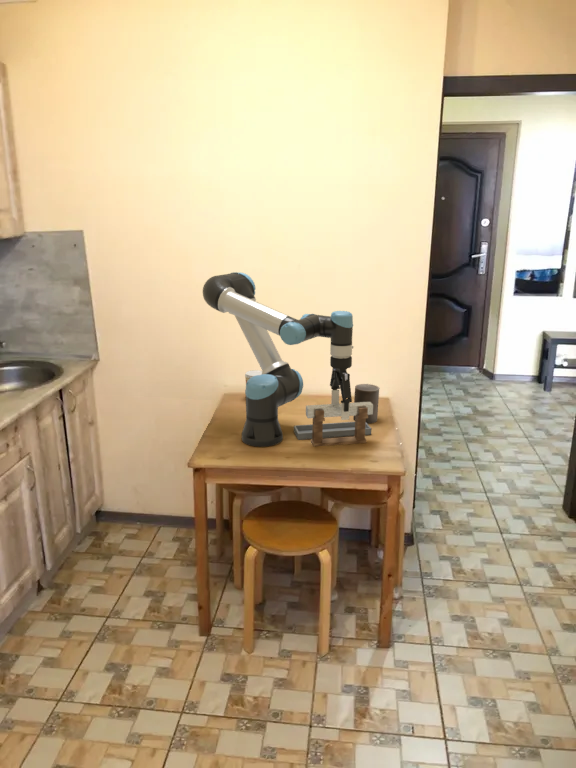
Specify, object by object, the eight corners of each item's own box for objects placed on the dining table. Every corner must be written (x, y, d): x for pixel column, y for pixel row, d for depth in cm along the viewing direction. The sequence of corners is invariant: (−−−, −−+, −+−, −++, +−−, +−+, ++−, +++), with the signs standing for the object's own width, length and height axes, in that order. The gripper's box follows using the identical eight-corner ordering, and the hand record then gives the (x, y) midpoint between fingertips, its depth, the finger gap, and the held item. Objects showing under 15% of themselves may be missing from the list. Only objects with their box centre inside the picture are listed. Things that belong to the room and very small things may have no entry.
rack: (313, 447, 220) (314, 411, 215) (309, 440, 226) (310, 405, 222) (367, 443, 223) (369, 408, 219) (362, 437, 229) (363, 402, 225)
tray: (298, 439, 227) (298, 433, 226) (293, 431, 234) (293, 425, 233) (371, 434, 232) (371, 428, 231) (364, 426, 239) (364, 420, 238)
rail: (307, 418, 217) (308, 408, 216) (305, 414, 221) (305, 405, 220) (372, 414, 222) (373, 404, 221) (369, 411, 225) (370, 401, 224)
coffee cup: (244, 396, 275) (243, 370, 271) (264, 395, 276) (264, 369, 273) (246, 403, 266) (246, 376, 262) (268, 401, 267) (267, 375, 264)
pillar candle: (355, 423, 242) (356, 387, 238) (351, 415, 252) (353, 380, 247) (379, 424, 243) (381, 388, 238) (375, 415, 252) (377, 380, 247)
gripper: (362, 364, 204) (360, 424, 210) (342, 347, 227) (340, 401, 233) (340, 365, 202) (339, 425, 208) (322, 348, 226) (321, 402, 232)
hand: (340, 413), depth 221 cm, fingers open, 13 cm apart
